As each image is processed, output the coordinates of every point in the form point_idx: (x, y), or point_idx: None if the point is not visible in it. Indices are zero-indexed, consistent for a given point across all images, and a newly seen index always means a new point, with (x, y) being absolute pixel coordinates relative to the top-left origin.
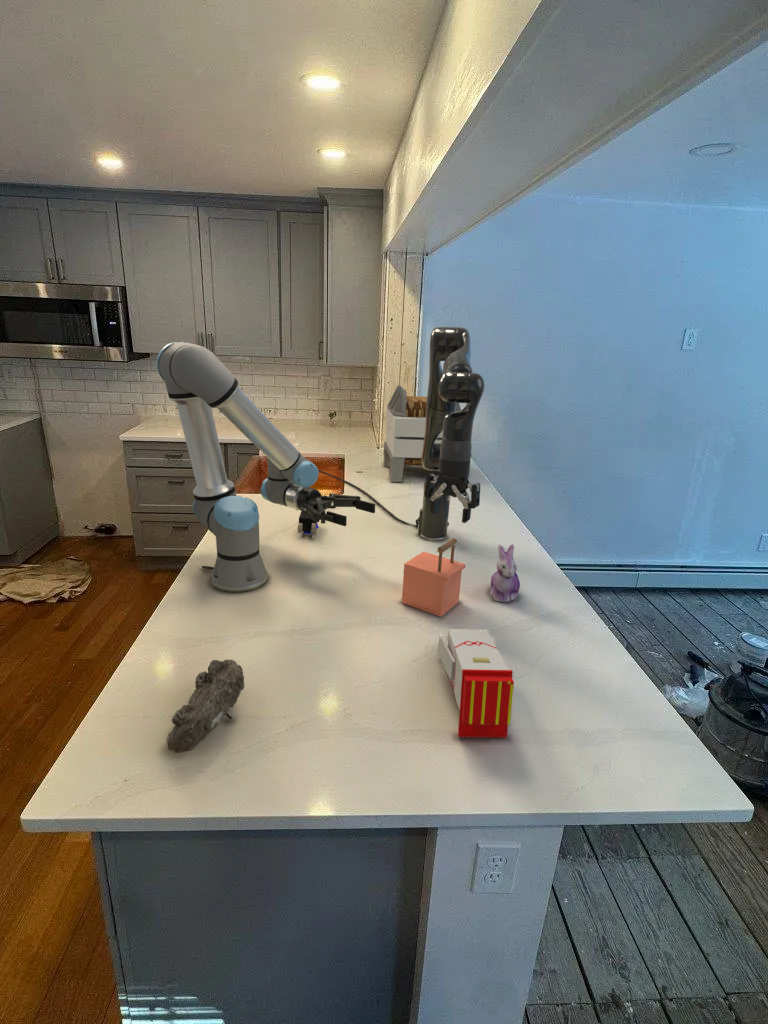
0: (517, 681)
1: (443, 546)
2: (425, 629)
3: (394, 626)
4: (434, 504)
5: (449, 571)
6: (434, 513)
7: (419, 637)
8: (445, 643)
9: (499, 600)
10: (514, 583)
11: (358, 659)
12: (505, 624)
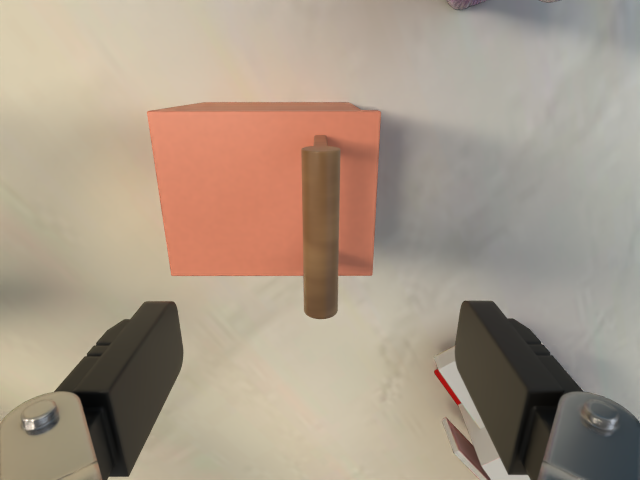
0: (596, 343)
1: (326, 297)
2: (343, 293)
3: (275, 324)
4: (135, 449)
5: (354, 228)
6: (178, 373)
7: (349, 328)
8: (482, 476)
9: (470, 4)
10: None
11: (292, 447)
12: (522, 140)
